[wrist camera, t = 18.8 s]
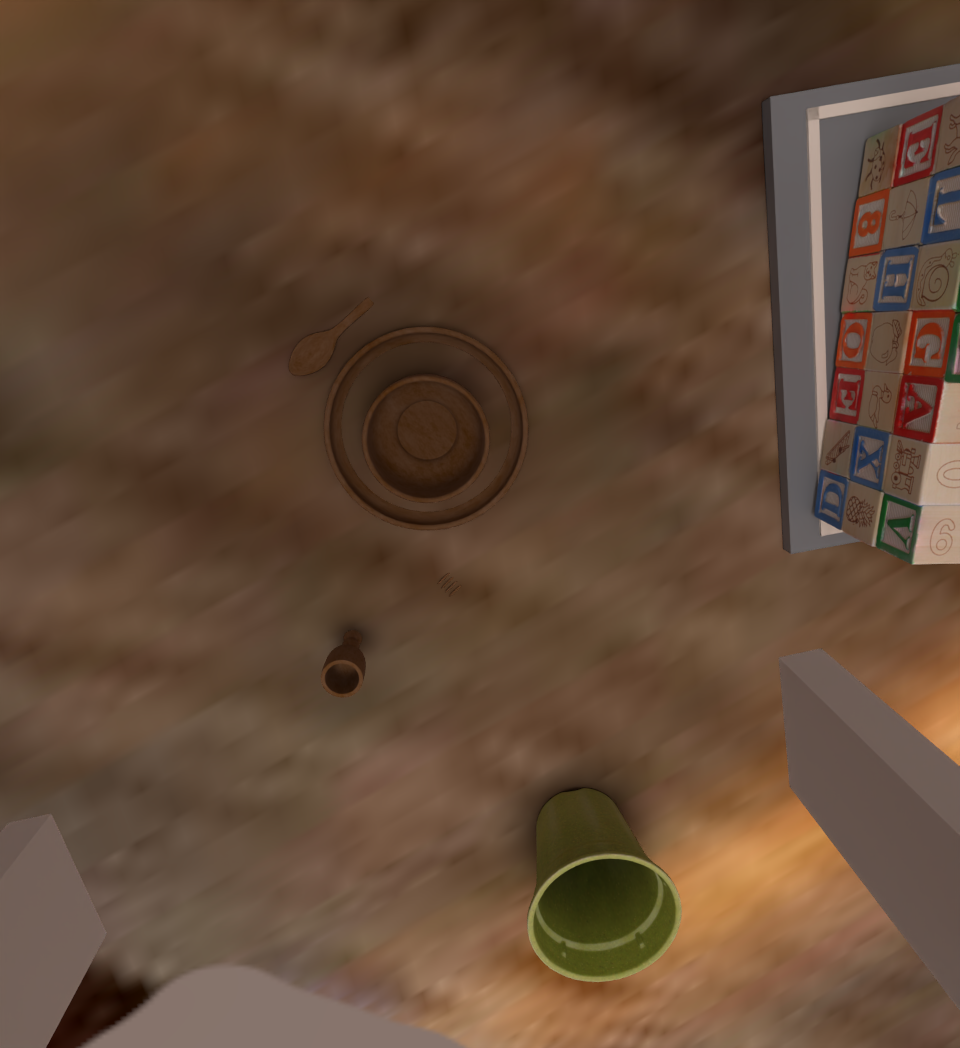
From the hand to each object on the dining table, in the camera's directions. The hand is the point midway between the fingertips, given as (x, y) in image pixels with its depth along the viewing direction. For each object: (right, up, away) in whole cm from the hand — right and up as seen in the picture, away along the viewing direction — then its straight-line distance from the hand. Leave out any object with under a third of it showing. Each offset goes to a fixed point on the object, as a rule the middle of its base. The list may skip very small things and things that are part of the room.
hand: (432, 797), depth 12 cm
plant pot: (+8, -17, +38) cm, 42 cm away
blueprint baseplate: (+25, +17, +29) cm, 42 cm away
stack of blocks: (+25, +16, +28) cm, 41 cm away
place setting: (-5, +8, +31) cm, 32 cm away
